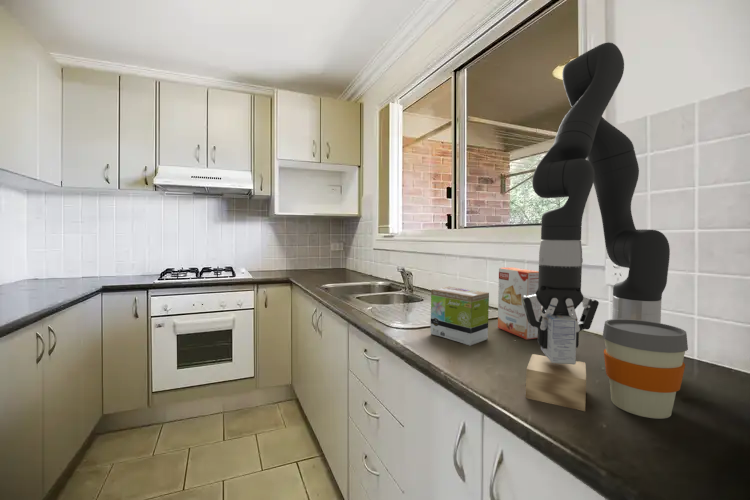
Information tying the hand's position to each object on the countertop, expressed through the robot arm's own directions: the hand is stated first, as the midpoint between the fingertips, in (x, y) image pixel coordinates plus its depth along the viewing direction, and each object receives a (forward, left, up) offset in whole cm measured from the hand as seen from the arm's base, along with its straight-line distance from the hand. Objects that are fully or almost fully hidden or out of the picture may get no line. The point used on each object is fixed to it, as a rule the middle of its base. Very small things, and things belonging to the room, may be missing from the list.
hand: (557, 348), depth 70 cm
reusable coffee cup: (-14, +2, -10) cm, 17 cm away
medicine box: (0, 0, -2) cm, 2 cm away
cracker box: (-1, -45, -10) cm, 46 cm away
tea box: (+18, -36, -10) cm, 41 cm away
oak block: (0, 0, -10) cm, 10 cm away
